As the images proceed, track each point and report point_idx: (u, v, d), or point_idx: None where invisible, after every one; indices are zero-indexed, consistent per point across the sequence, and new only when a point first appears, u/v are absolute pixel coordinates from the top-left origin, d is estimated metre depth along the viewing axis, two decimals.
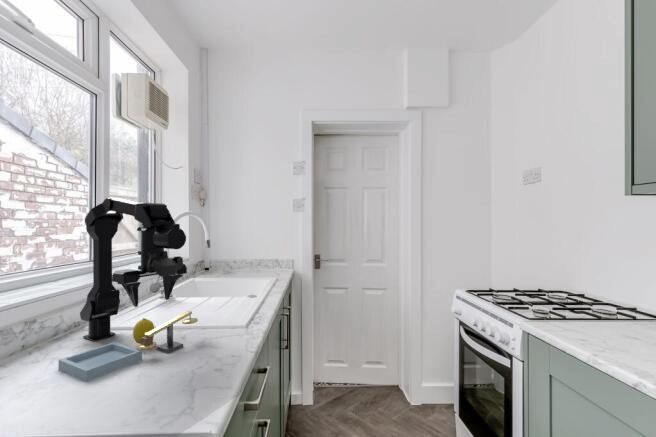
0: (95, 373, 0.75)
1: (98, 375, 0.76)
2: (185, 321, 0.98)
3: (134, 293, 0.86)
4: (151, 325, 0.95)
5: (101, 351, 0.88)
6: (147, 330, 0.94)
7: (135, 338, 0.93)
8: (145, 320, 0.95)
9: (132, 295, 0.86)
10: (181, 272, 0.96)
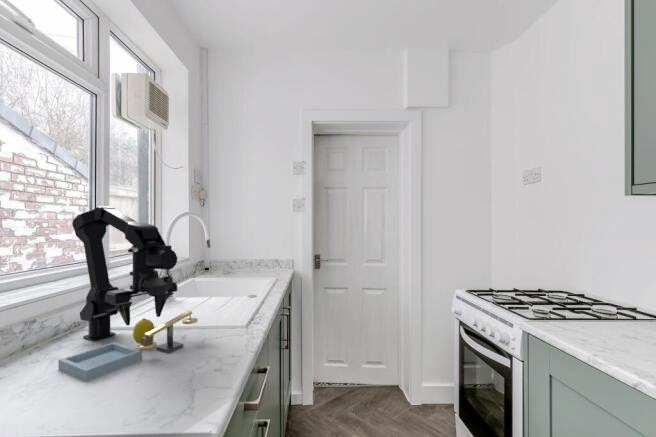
0: (95, 373, 0.75)
1: (98, 375, 0.76)
2: (185, 321, 0.98)
3: (126, 312, 0.90)
4: (151, 325, 0.95)
5: (101, 351, 0.88)
6: (147, 330, 0.94)
7: (135, 338, 0.93)
8: (145, 320, 0.95)
9: (124, 314, 0.90)
10: (171, 290, 1.00)
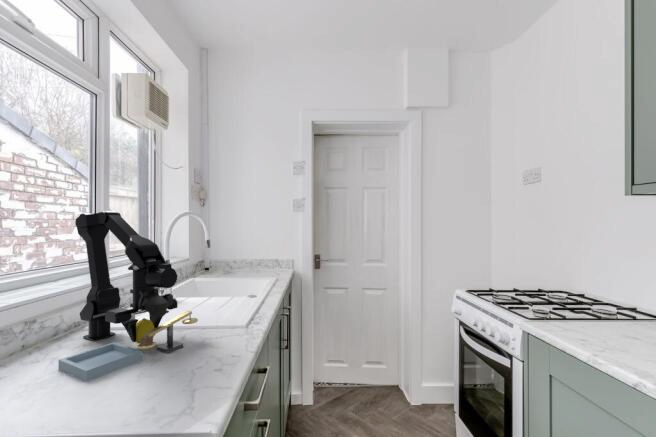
0: (95, 373, 0.75)
1: (98, 375, 0.76)
2: (185, 321, 0.98)
3: (132, 330, 0.91)
4: (151, 325, 0.95)
5: (101, 351, 0.88)
6: (147, 330, 0.94)
7: None
8: (145, 320, 0.95)
9: (130, 331, 0.92)
10: (172, 307, 1.00)
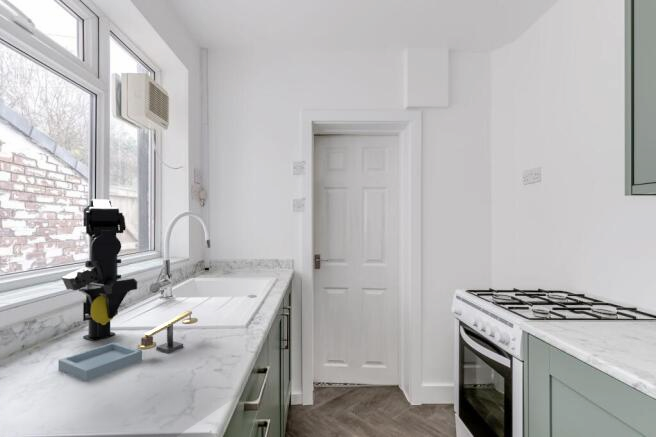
0: (95, 373, 0.75)
1: (98, 375, 0.76)
2: (185, 321, 0.98)
3: (89, 300, 0.84)
4: (96, 303, 0.81)
5: (101, 351, 0.88)
6: (91, 307, 0.81)
7: None
8: (100, 296, 0.82)
9: None
10: (107, 290, 0.77)
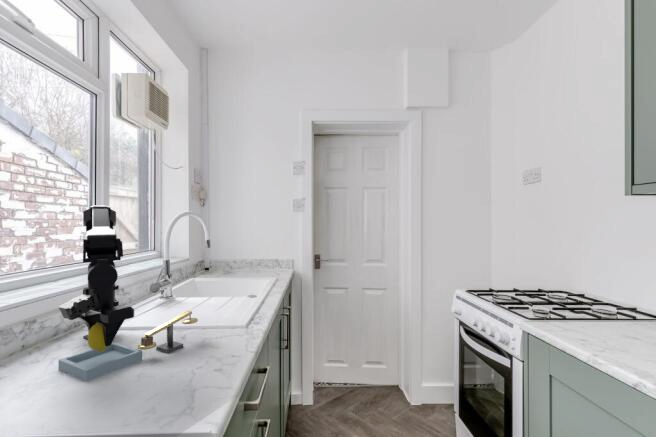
0: (95, 373, 0.75)
1: (98, 375, 0.76)
2: (185, 321, 0.98)
3: (87, 327, 0.84)
4: (93, 331, 0.80)
5: None
6: (88, 335, 0.81)
7: None
8: (97, 323, 0.82)
9: None
10: (103, 320, 0.77)
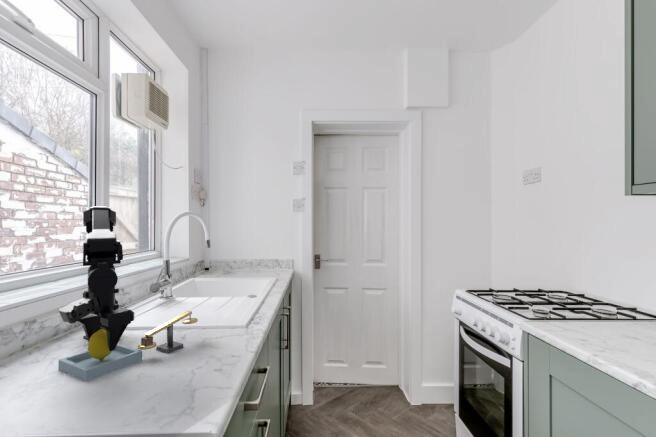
0: (95, 373, 0.75)
1: (98, 375, 0.76)
2: (185, 321, 0.98)
3: (84, 329, 0.84)
4: (93, 340, 0.80)
5: None
6: (88, 343, 0.81)
7: None
8: (97, 331, 0.82)
9: None
10: (103, 323, 0.77)
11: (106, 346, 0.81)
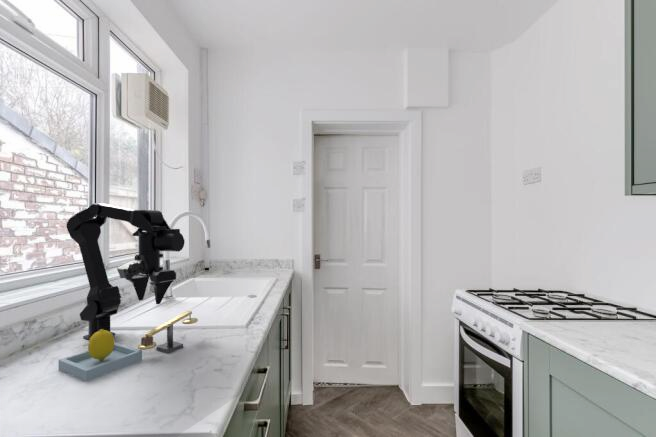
0: (95, 373, 0.75)
1: (98, 375, 0.76)
2: (185, 321, 0.98)
3: (134, 287, 1.01)
4: (93, 340, 0.80)
5: None
6: (89, 344, 0.81)
7: None
8: (97, 332, 0.82)
9: None
10: (152, 280, 0.93)
11: (107, 346, 0.81)
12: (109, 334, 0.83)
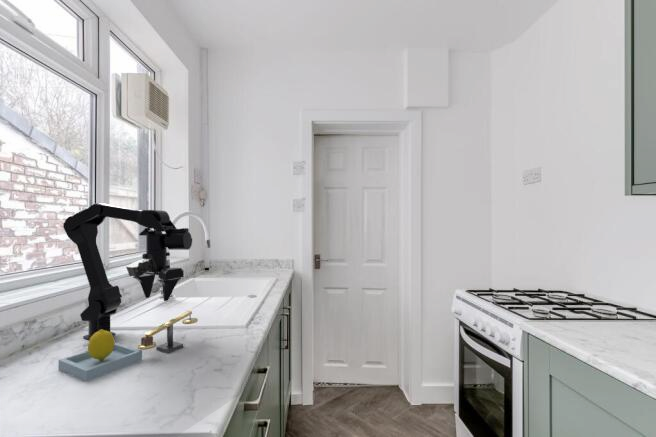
0: (95, 373, 0.75)
1: (98, 375, 0.76)
2: (185, 321, 0.98)
3: (141, 285, 1.04)
4: (93, 340, 0.80)
5: None
6: (89, 344, 0.81)
7: None
8: (97, 332, 0.82)
9: None
10: (161, 277, 0.96)
11: (107, 346, 0.81)
12: (109, 334, 0.83)
